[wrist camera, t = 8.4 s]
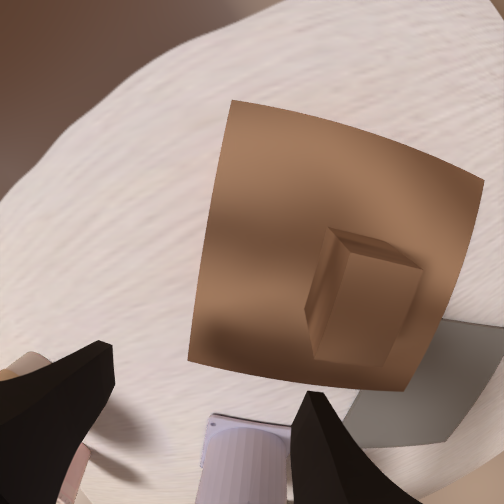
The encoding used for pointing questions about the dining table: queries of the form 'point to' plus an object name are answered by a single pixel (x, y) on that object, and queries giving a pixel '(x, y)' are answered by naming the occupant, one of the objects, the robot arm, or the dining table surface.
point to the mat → (430, 390)
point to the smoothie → (74, 476)
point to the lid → (327, 252)
